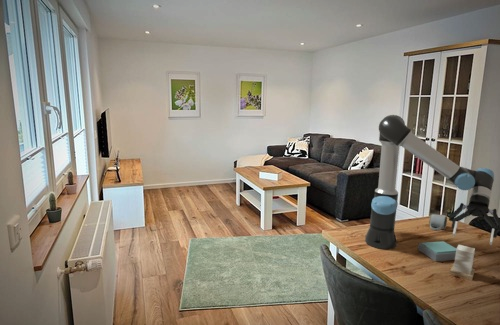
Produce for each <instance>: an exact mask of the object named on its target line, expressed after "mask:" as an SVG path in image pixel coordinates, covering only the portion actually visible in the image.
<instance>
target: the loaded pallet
mask: <svg viewBox="0 0 500 325" xmlns="http://www.w3.org/2000/svg"><path fill="white" fill-rule="evenodd" d="M475 250H476V248H475V247H470V246H468V245H462V244H458V245H457V246H456V255H455V260H454V262H453V263H452V265H451V268H450V270H449V274H450V275H453V276H457V277H459V278H464V279H467V280H470V281H473V279H474V274H475V272H476V271H475V270H476V269H475V268H473V265H474V258H475V257H474V256H475V252H476V251H475Z"/></svg>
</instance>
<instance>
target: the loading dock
mask: <svg viewBox="0 0 500 325" xmlns="http://www.w3.org/2000/svg"><path fill="white" fill-rule="evenodd" d="M417 244H418V245H417V250H418V251H419V252H420V253H422V254H424V255H425V256H426V257H428V258H430V259H431V260H432V261H434V262H443V261H453V260H454V261H455V255H456V249H457V247H455V246H452V245H451V244H449V243H447V242H446V241H444V240H443V241H429V242H419V243H417Z"/></svg>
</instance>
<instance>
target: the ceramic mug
mask: <svg viewBox="0 0 500 325" xmlns="http://www.w3.org/2000/svg"><path fill="white" fill-rule="evenodd" d="M447 223H448V217H447V215H443V214H435V213H432V214H430V215H429V219H428V224H429V228H430V229H431V230H433V231H436V232H437V231H440V230H445V229H446V227H447Z"/></svg>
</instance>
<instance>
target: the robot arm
mask: <svg viewBox="0 0 500 325" xmlns="http://www.w3.org/2000/svg"><path fill="white" fill-rule="evenodd" d="M378 131H379V134H378V137H379V138H378V141H379V143H380V144H381V149H380V150H381V151H380V162H379V173H378V176H379V177H378V185H377V188H375V189H374V197H373V198H372V200H371V204H370V205H371V211H370V221H369V228H368V230H367V232H366V235H365V236H364V237H365V238H364V242H365V243H366V244H367V245H368V246H370V247H373V248H377V249H381V250H393V249H395V248H396V247H397V242H398V240H397V236H396V233H395V225H396V218H397V217H396V216H397V209H398V197H399V192H398V191H397V190H396V186H397V175H398V166H399V154H400V147H402V148H404V149H405V150H406V151H408V152H409V153H410V154H412V155H413V156H414V157H416V158H418V160H420V161H422V162H423V163H424V164H426V165H427V166H429V167H430V168H432V169H433V170H435V171H436V172H437V173H438V174H440V175H441V176H442V177H444V178H445V179H447V180H448V181H450V182H451V183H452V184H454V185H455V187H456V188H457V189H459V190H461V191H469V190H471V192H470V197H469V202H468V204H467V205H466V204H464V203H463V202H461V203H460V205H459V206H458V208H457V209H456V210H455V211H453V212H452V213H451V214H450V215H449V216H448V220H449V221H450V222H452V224H451V229H453V231H452V237H455V236H456V234H457V228H458V222H460V221H462V220H463V219H465V218H467V217H470V216H472V217H477V218H482V219H484V220H485V221H486V223H487V224H488V225H489V226H490V228H491V232H490V234H491V235H490V239H489V245H490V246H492V245H493V239H496V238H497V235H498V232H500V218H499V216H498V213H497V208H493V209H490V208H489V206H490V203H491V202H490V201H491V197H492V196H491V195H492V190H493V185H494V181H495V173H494V171H493V170H492V169H490V168H488V167H485V168H484V167H480V168H477V169H476V170H474V169H470V168H467V167H463V166H460V165H458V164H457V163H456V162H454V161H452V160H451V159H450V158H448V157H446V156H445V155H444V154H443V153H441V152H439V151H438V150H436V149H435V148H434V147H432V146H431V145H429V144H428V143H427V142H425V141H424V140H422V139H421V138H419V137H418V136H417V135H415V134H414V133H413V130H412V129H411V128H410V127H408V126H407V125H406V123H405V120H404V119H403V118H402V117H401V116H399V115H397V114H389V115H387V116H385V117H384V118H382V120H381V121H380V122H379V125H378ZM465 209H466V210H465ZM463 210H465V211H463ZM462 211H463V212H462ZM461 212H462V213H461ZM459 214H460V215H459ZM488 214H490V215H492V218H493V219H494V221H493V220H492V219H491V218H490V217H489V215H488Z"/></svg>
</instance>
